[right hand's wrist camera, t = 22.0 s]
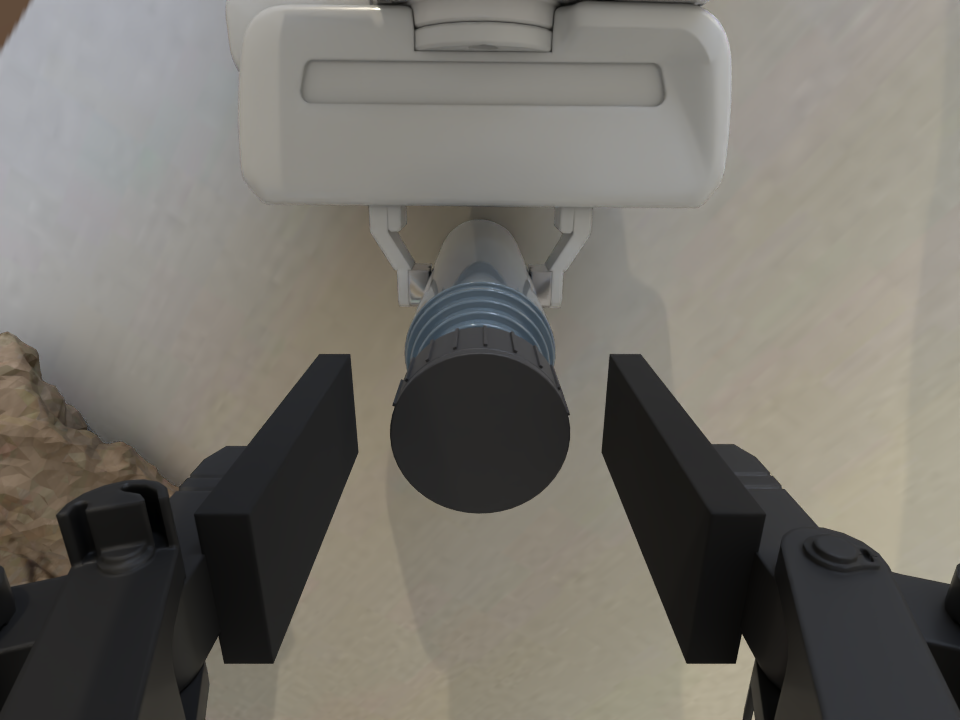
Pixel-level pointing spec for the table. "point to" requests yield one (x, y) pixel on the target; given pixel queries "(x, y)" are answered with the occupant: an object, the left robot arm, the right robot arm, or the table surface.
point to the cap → (480, 421)
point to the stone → (47, 466)
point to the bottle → (479, 291)
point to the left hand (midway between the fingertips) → (480, 304)
